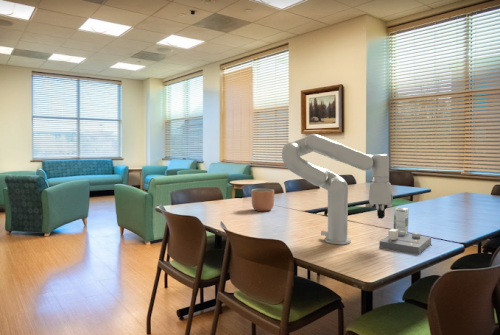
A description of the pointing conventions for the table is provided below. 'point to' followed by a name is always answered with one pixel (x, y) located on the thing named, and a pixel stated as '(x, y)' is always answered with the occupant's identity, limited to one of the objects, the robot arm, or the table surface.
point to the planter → (262, 199)
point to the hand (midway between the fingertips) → (381, 218)
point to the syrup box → (401, 219)
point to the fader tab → (393, 234)
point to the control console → (406, 243)
